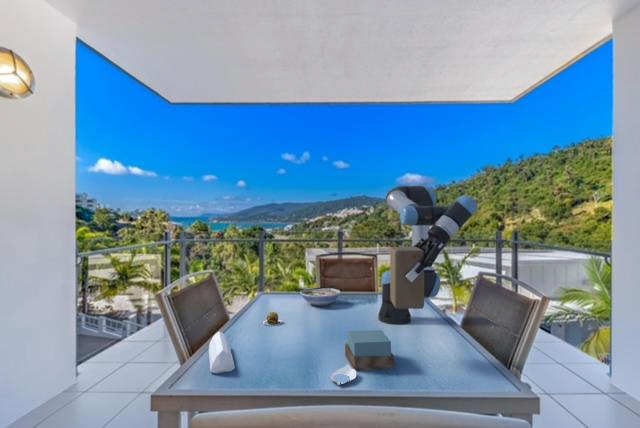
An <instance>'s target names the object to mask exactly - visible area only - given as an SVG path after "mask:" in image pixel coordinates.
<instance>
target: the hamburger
mask: <svg viewBox="0 0 640 428" xmlns="http://www.w3.org/2000/svg"><path fill="white" fill-rule="evenodd" d="M262 323H263V325H265V326H269V327H272V326H273V327H275V326H278V325H281V324H282V323H283V321H282V320H281V319H279V314H278V313H277V312H274V311H272V312H269V313H268V314H267V317H266V320H264V321H263V322H262ZM266 323H267V324H266Z"/></svg>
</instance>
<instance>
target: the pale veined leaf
mask: <svg viewBox="0 0 640 428" xmlns="http://www.w3.org/2000/svg"><path fill="white" fill-rule="evenodd" d="M337 374H344V375H347V376H349V377H350V378H349V379H350V381H348V382H347V381H346V382H345V381H344V383H343V382H341V384H340V383H339V382H340V381H339V382H336V381H335V379H334V376H335V375H337ZM347 376H346V377H347ZM356 377H357V371H355V369H353V367H352V366H350V363H349V362H347V364H346V365H345V366H343V367H341V368H339V369H336V370H335V371H334V372H332V373H331V374H330V375H329V378H330V380H331V381H333V382H335V384H337V386H339V385H342V384H343V385H344V384H345V383H349V382H351V381H353V380H354V379H356Z"/></svg>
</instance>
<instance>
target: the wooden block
mask: <svg viewBox="0 0 640 428" xmlns="http://www.w3.org/2000/svg"><path fill="white" fill-rule="evenodd" d="M389 254H390V255H389V257H390V259H389V260H390V261H389V264H390V265H389V266H390V267H389V268H390V270H389V271H390V300H391V302H392V303H393V305H394V307H395V308H397V309H409V310H410V309H411V310H412V309H413V310H414V309H415V310H416V309H417V310H418V309H419V310H420V309H424V308H425V307H424V306H425V298H424V270H423V271H422V272H421V273H420V274H419V275H418V276H417V277H416V278H415V279H414V281H413V282H410V281H409V280H408V279H407V277H406V275H407V274H408V273H409V272H410V271H411V270H412V269H413V268H414V266H415V265H416V264H417V263H418V262H419V261H420V260H422V259H423V257H424V251H423V250H421V249H419V248H417V247H412V246H392V247H390V250H389ZM419 263H420V262H419ZM420 264H421V263H420Z"/></svg>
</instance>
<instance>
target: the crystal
mask: <svg viewBox="0 0 640 428" xmlns="http://www.w3.org/2000/svg"><path fill="white" fill-rule="evenodd" d="M208 358H209V359H208V360H209V368H210V369H209V370H210V373H213V374H222V373H229V372H232V371H234V370H235V369H236V368H235V367H236V366H235V362H234V358H233V354H232V351H231V346H230V343H229V340H228V339H227V337H226V335H225V333H223V332H222V331H220V330H219V331H218V332H216V333H214V335H213V336H212V338H211V340H210V342H209V346H208Z"/></svg>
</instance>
